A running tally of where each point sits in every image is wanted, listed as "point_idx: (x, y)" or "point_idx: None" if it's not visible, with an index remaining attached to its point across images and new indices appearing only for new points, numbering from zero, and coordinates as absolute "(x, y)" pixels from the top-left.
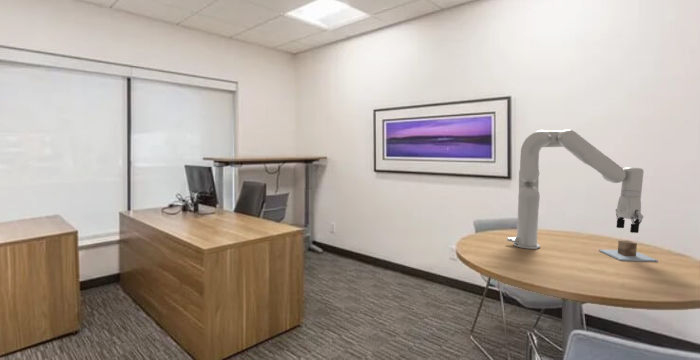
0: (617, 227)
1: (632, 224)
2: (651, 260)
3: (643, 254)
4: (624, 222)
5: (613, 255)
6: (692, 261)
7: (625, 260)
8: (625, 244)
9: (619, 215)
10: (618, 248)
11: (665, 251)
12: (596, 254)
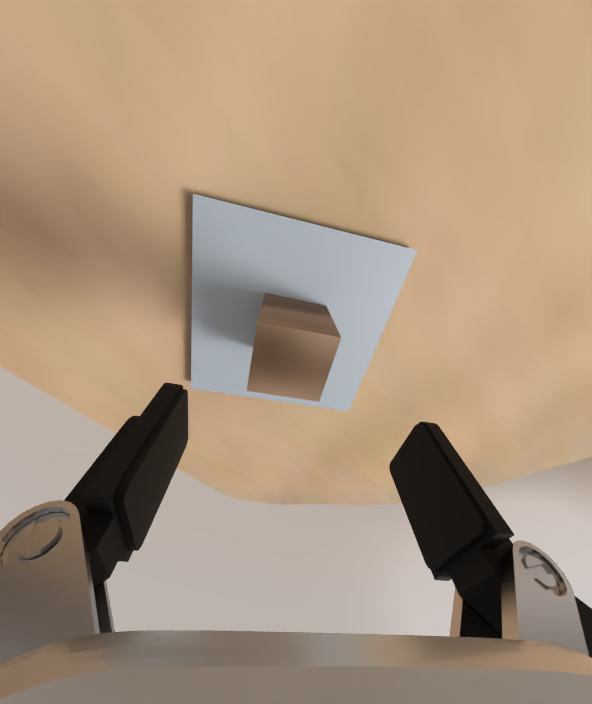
0: (422, 423)
1: (91, 492)
2: (192, 364)
3: (281, 401)
4: (414, 533)
5: (277, 223)
6: (215, 486)
7: (194, 231)
8: (258, 318)
9: (519, 700)
10: (326, 314)
11: (330, 498)
12: (362, 160)
